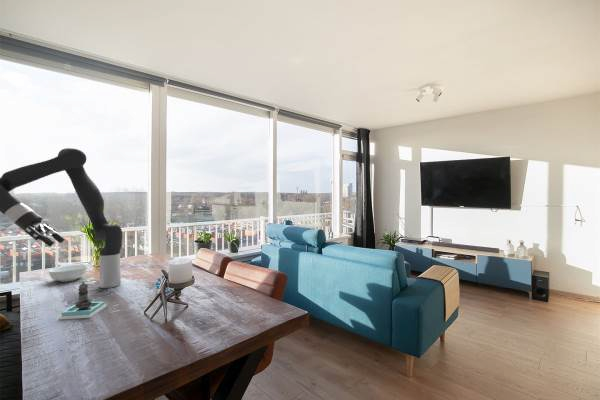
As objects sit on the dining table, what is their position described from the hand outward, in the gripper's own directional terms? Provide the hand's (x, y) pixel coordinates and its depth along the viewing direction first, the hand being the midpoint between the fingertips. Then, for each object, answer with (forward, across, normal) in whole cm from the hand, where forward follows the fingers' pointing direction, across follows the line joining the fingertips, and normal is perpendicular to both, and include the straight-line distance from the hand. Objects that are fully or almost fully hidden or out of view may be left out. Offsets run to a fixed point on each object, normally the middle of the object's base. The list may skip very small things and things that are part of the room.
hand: (57, 242), depth 121 cm
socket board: (+28, -7, +12) cm, 32 cm away
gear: (+50, +12, -8) cm, 52 cm away
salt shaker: (+28, -7, +12) cm, 31 cm away
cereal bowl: (+9, +50, +32) cm, 61 cm away
